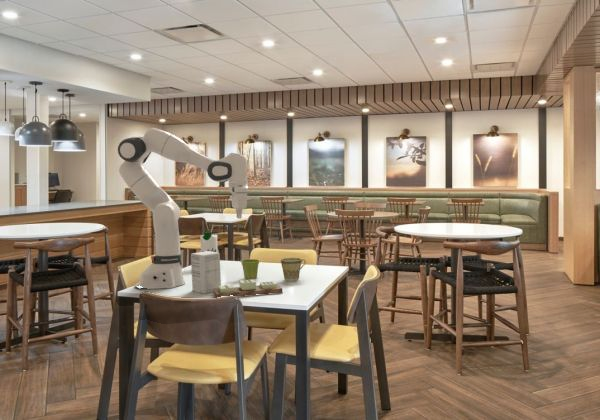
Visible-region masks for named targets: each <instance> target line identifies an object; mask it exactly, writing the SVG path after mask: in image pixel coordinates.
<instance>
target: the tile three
mask: <svg viewBox="0 0 600 420" xmlns="http://www.w3.org/2000/svg"><path fill="white" fill-rule="evenodd" d="M259 285H260V287H261V288H262V289H270V288H277V285H278V283H276V282H275V281H274V280H273V281H262V282H259Z"/></svg>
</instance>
